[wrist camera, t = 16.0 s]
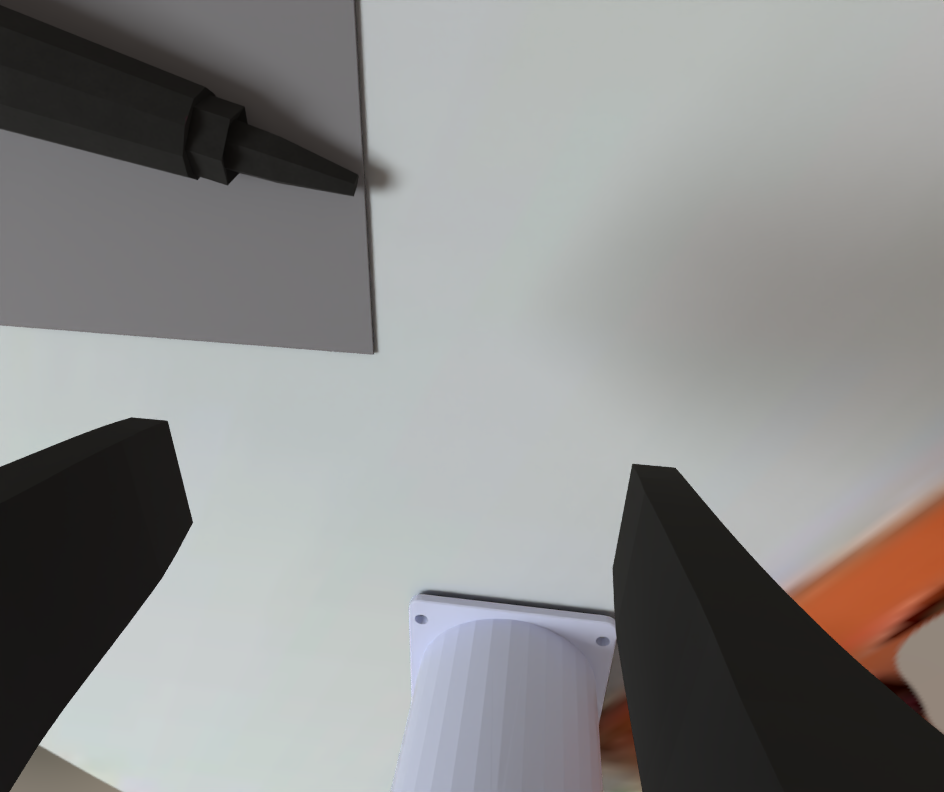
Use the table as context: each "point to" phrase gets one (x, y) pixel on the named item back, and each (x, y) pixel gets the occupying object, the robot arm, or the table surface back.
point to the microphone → (140, 113)
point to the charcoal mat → (199, 190)
